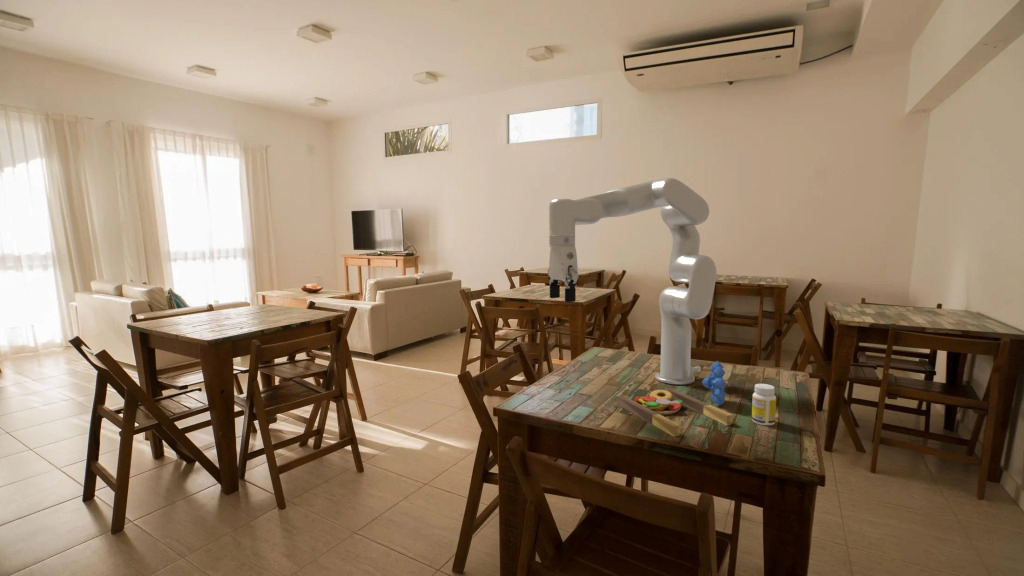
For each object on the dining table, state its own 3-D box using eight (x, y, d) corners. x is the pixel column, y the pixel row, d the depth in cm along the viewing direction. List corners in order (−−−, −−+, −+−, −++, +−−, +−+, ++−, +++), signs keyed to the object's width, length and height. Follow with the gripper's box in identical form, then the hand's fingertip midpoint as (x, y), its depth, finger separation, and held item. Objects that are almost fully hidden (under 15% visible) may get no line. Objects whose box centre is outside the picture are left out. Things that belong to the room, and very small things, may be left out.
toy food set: (664, 398, 143) (665, 387, 142) (692, 413, 130) (693, 402, 130) (625, 402, 139) (625, 392, 139) (650, 419, 126) (650, 407, 126)
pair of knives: (669, 395, 144) (669, 387, 144) (732, 424, 122) (732, 414, 121) (616, 404, 137) (616, 396, 137) (673, 436, 115) (673, 426, 114)
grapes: (698, 395, 144) (699, 356, 143) (721, 396, 142) (723, 357, 141) (704, 408, 133) (705, 367, 131) (729, 410, 131) (731, 368, 130)
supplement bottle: (771, 418, 125) (773, 383, 124) (778, 426, 120) (780, 390, 119) (749, 417, 126) (750, 382, 125) (754, 425, 121) (756, 388, 120)
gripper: (588, 242, 131) (588, 302, 133) (560, 241, 147) (560, 295, 149) (564, 242, 129) (564, 304, 131) (538, 241, 145) (538, 297, 146)
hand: (562, 299), depth 140 cm, fingers open, 9 cm apart
